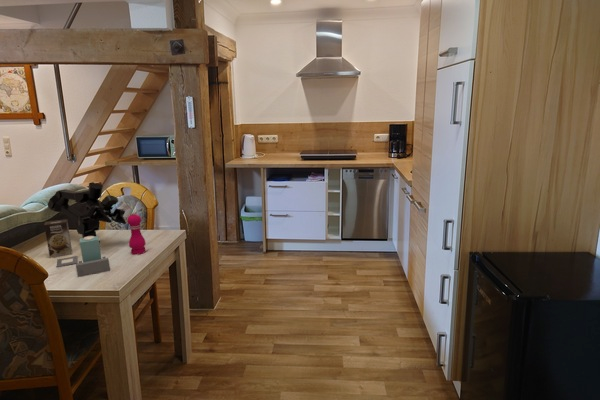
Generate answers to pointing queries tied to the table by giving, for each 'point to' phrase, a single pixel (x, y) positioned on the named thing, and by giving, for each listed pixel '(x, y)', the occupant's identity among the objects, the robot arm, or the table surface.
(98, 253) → the teal tall block
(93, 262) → the gray support stand
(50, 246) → the cookie box
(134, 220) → the pepper mill
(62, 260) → the card
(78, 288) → the table surface
